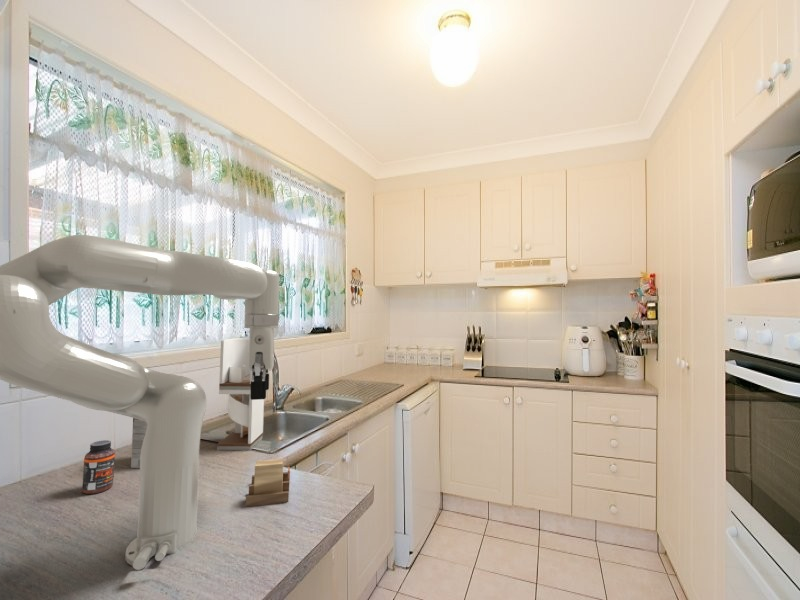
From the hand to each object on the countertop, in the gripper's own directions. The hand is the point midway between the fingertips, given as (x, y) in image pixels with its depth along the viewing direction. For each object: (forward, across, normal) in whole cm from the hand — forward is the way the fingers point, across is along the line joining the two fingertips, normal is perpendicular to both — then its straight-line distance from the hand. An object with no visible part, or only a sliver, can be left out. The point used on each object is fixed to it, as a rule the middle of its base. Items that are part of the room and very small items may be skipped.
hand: (260, 394), depth 86 cm
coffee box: (+25, +32, +32) cm, 52 cm away
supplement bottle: (+25, +16, +38) cm, 48 cm away
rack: (+25, +1, -2) cm, 25 cm away
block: (+23, -2, -2) cm, 24 cm away
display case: (+25, +42, +9) cm, 50 cm away
